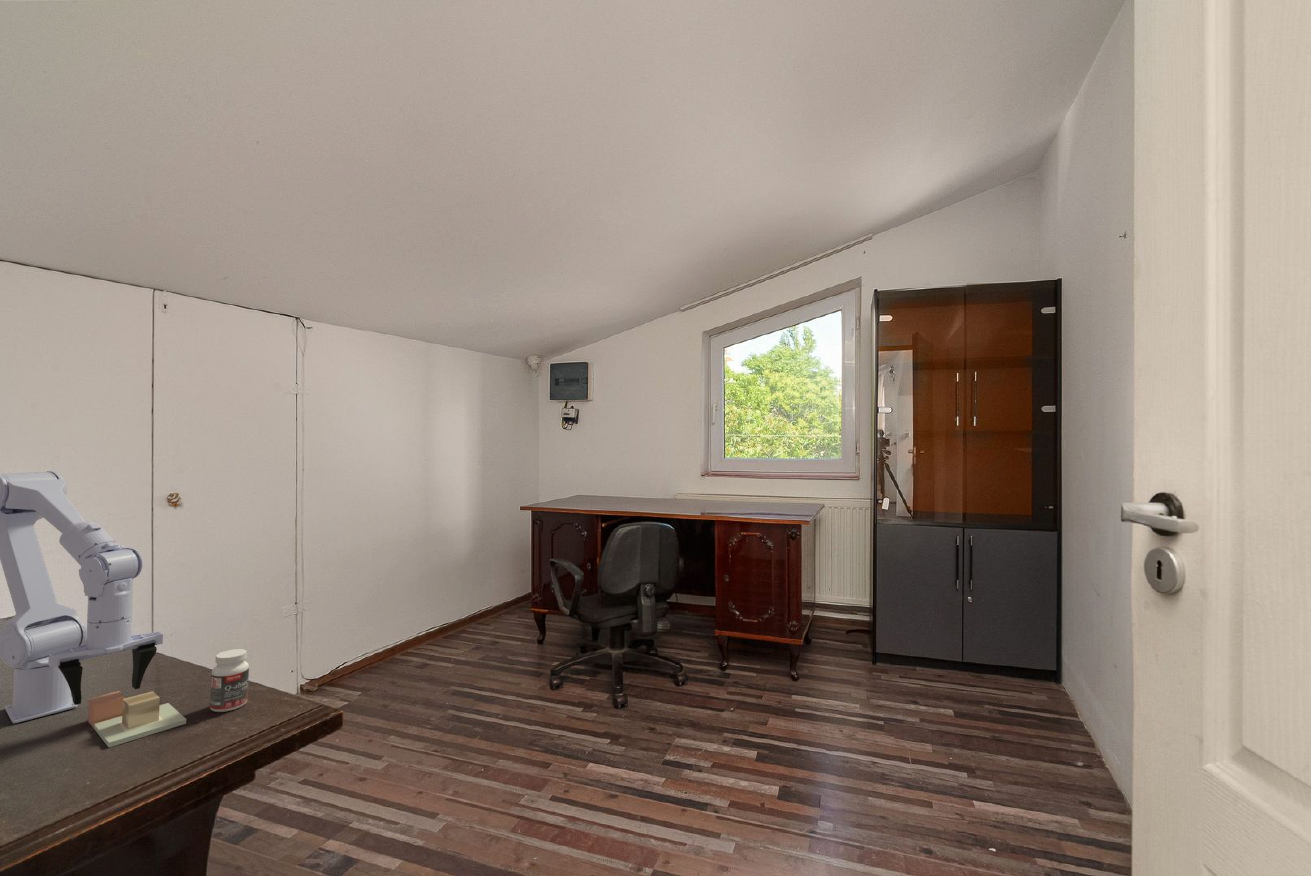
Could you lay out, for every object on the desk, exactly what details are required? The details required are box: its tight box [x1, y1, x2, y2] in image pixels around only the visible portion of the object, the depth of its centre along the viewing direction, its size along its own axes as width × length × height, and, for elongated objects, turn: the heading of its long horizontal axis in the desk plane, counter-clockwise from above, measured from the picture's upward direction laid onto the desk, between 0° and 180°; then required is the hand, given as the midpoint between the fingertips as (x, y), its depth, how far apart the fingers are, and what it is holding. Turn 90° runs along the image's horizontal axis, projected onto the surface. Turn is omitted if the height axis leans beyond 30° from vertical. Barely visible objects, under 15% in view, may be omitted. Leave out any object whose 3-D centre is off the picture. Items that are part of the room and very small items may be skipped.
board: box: [93, 702, 187, 748], centre depth 98 cm, size 10×10×1 cm
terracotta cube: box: [87, 690, 126, 729], centre depth 100 cm, size 4×4×4 cm
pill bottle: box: [209, 648, 250, 713], centre depth 106 cm, size 6×6×10 cm
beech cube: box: [122, 690, 161, 729], centre depth 98 cm, size 4×4×4 cm
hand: (107, 694), depth 100 cm, fingers open, 7 cm apart
